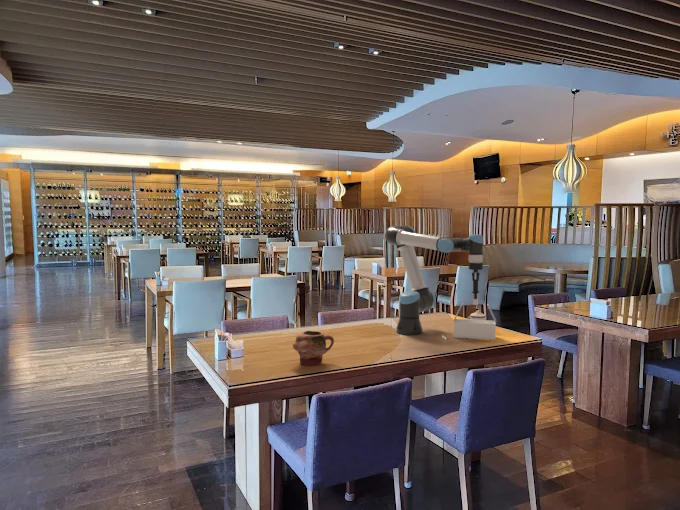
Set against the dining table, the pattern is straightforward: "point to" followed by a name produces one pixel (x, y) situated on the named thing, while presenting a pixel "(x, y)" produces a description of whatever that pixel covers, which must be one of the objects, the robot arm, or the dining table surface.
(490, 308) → the flap
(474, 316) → the teacup with lid
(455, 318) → the flap
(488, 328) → the carton
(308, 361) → the brown sculpted mug
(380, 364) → the dining table surface
